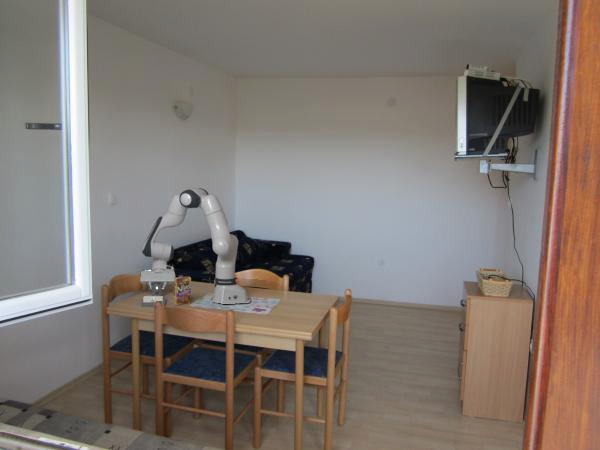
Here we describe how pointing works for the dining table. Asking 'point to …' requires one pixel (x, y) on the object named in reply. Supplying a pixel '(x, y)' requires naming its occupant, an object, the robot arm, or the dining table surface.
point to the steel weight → (157, 289)
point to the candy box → (181, 290)
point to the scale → (152, 300)
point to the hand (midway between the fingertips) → (157, 289)
